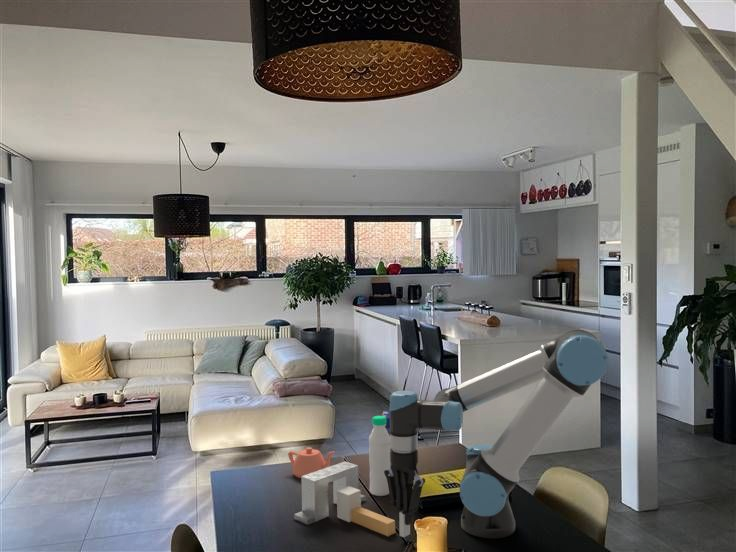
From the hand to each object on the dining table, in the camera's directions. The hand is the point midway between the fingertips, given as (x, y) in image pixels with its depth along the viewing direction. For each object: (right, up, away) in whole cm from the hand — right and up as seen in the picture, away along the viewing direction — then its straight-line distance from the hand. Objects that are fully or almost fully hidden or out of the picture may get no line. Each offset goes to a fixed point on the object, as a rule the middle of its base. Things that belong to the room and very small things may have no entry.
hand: (404, 534), depth 163 cm
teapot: (-30, -1, +52) cm, 60 cm away
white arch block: (-21, -1, +21) cm, 30 cm away
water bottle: (-6, -1, +34) cm, 34 cm away
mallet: (-11, -1, +11) cm, 15 cm away
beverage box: (-1, -1, +49) cm, 49 cm away
